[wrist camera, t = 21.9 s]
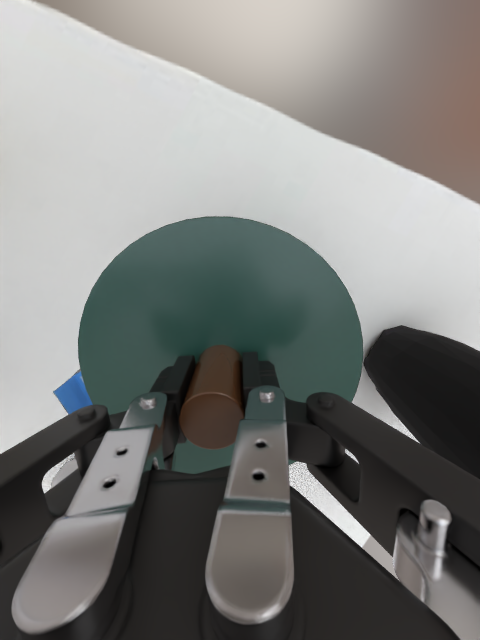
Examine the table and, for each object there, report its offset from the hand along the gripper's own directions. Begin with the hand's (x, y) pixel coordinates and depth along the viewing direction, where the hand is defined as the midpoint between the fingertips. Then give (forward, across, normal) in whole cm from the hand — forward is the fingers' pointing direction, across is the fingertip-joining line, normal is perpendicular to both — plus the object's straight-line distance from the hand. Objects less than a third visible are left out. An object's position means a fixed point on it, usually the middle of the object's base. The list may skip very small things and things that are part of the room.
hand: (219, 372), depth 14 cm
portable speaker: (+19, -19, +8) cm, 28 cm away
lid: (+1, 0, 0) cm, 1 cm away
